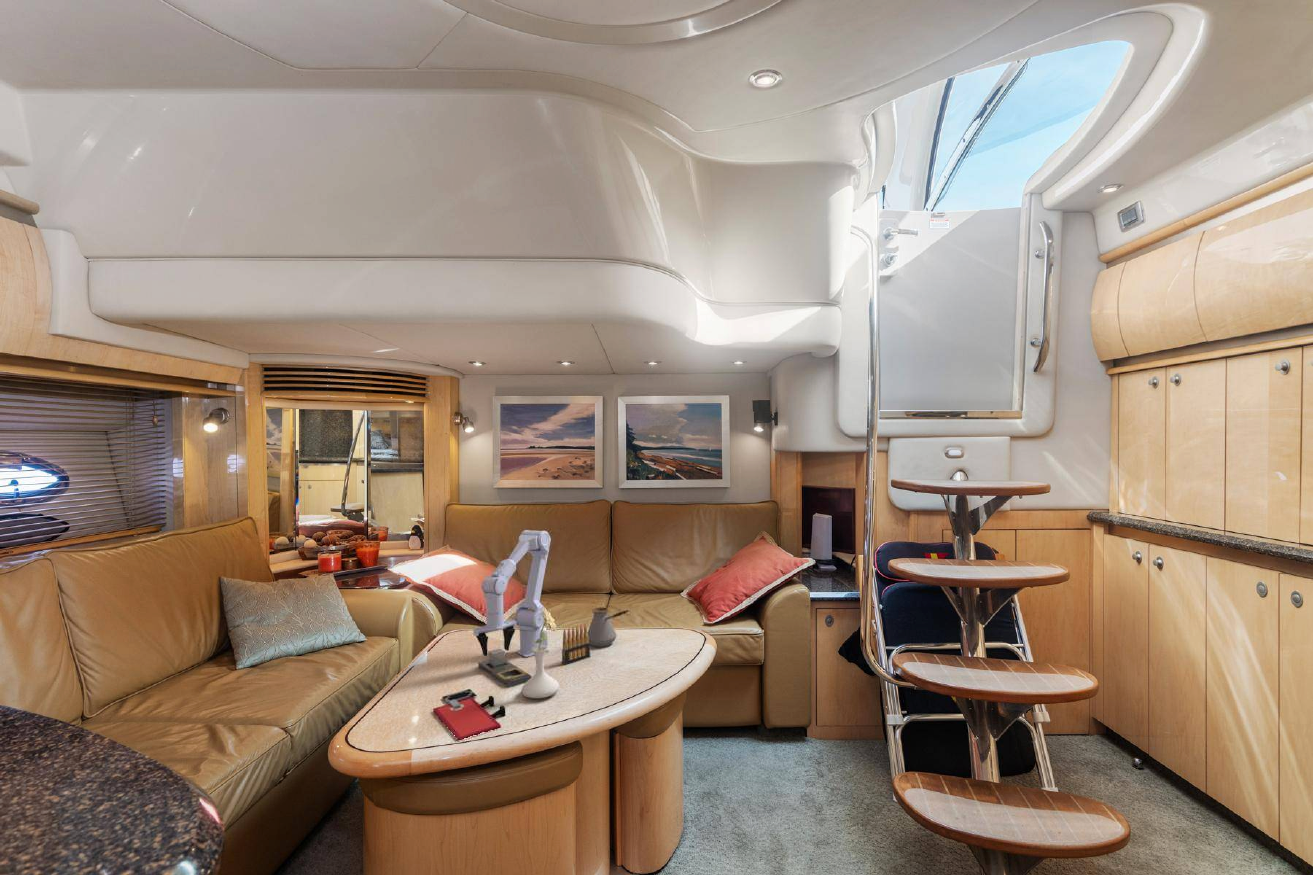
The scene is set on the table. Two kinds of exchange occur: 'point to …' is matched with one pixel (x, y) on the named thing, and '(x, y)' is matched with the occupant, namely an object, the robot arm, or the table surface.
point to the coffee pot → (602, 627)
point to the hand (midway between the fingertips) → (496, 652)
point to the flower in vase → (541, 667)
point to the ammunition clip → (575, 645)
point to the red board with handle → (468, 714)
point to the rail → (505, 673)
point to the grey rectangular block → (496, 658)
